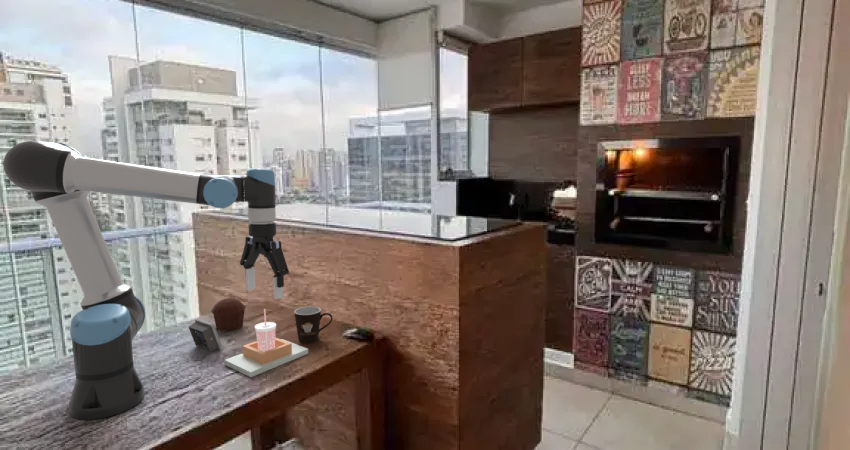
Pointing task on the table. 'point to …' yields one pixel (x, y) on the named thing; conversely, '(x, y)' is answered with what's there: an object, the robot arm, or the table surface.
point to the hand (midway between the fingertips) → (264, 293)
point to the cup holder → (265, 357)
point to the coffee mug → (309, 323)
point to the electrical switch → (205, 335)
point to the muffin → (228, 314)
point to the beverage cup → (265, 334)
